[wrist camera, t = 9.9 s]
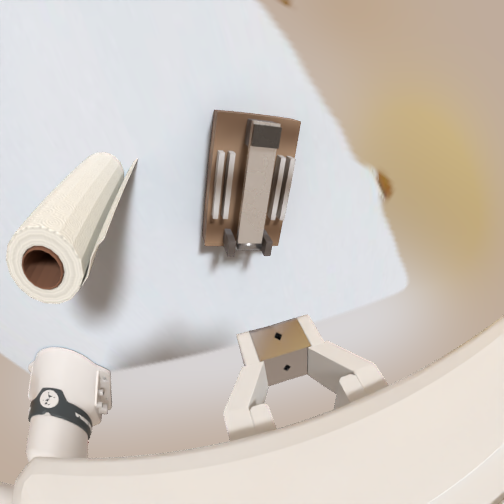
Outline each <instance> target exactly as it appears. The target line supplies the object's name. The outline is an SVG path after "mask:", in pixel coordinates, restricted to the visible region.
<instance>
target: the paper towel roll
mask: <svg viewBox="0 0 504 504" xmlns="http://www.w3.org/2000/svg"><path fill="white" fill-rule="evenodd" d="M137 160H138V158H137V159H136V160H135V161H134V162H133V164H132V165H131V167H130V168H129V170H128V172H127V174H126V176H125V178H124V170H123V167H122V165H121V162H120V161H119V160H118V159H117V158H116V157H115V156H114V155H111V154H109V153H106V152H98V153H95V154H93V155H91V156H89V157H87V158H86V159H85V160H84V161H83V162H82V163H81V164H80V165H79V166H78V167H76V168H75V169H74V170H73V171H72V172H71V173H70V174H69V175H68V176H67V177H66V178H65V179H64V180H63V181H62V182H61V183H60V184H59V185H58V186H57V187H56V188H55V189H54V190H53V191H52V192H51V193H50V194H49V195H48V196H47V197H46V198H45V199H44V200H43V201H42V202H41V204H40V205H39V206H38V207H37V208H36V209H35V210H34V211H33V212H32V213H31V215H30V216H29V217H28V218H27V219H26V220H25V221H24V223H23V224H22V225H21V226H20V227H19V229H18V230H17V231H16V232H15V234H14V235H13V237H12V238H11V240H10V242H9V243H8V245H7V255H6V261H7V265H8V269H9V272H10V275H11V277H12V278H13V280H14V281H15V283H16V284H17V286H18V287H19V288H20V289H21V290H22V291H24V292H25V293H26V294H27V295H28V296H30V297H31V298H33V299H36V300H38V301H41V302H43V303H52V304H60V303H62V302H65V301H68V300H71V299H72V298H73V297H74V295H75V294H76V293H77V292H78V291H79V289H80V288H81V287H82V285H83V284H84V282H85V281H86V279H87V278H88V276H89V273H90V270H91V267H92V264H93V261H94V258H95V256H96V253H97V250H98V247H99V244H100V243H101V242H102V241H103V240H104V239H105V236H106V233H107V231H108V228H109V225H110V223H111V220H112V217H113V215H114V212H115V210H116V207H117V205H118V203H119V200H120V198H121V195H122V193H123V191H124V188H125V186H126V184H127V181H128V179H129V177H130V175H131V173H132V170H133V168H134V166H135V164H136V162H137Z"/></svg>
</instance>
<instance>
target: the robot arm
mask: <svg viewBox="0 0 504 504" xmlns="http://www.w3.org/2000/svg"><path fill="white" fill-rule="evenodd" d="M236 335H237V340H238V343H239V347H240V351H241V355H242V359H243V363H244V367H242V369H241V371H240V373H239V376H238V378H237V381H236V383H235V386H234V388H233V391H232V393H231V395H230V398H229V400H228V403H227V405H226V407H225V410H224V412H223V414H224V418H225V423H226V427H227V431H228V435H229V440H230V441H229V442H225V443H220V444H215V445H210V446H206V447H200V448H194V449H188V450H182V451H175V452H168V453H160V454H152V455H142V456H130V457H115V458H88V443H89V442H88V440H89V438H90V435H91V433H92V426H95V425H97V424H99V423H100V422H101V418H102V414H108V410H110V409H111V406H112V398H111V373H110V371H109V370H107V369H105V368H103V367H101V366H98V365H96V364H95V363H93V362H92V361H91V360H89V359H88V358H86V357H85V356H83V355H81V354H79V353H77V352H75V351H72V350H69V349H65V348H59V347H50V348H45V349H43V350H41V351H39V352H38V354H37V355H36V358H35V360H34V361H33V362H31V363H30V364H29V367H28V370H29V371H30V373H31V378H30V385H29V393H28V397H29V399H30V401H31V405H30V409H29V418H28V419H29V422H30V425H29V432H28V439H27V447H26V456H27V459H28V461H29V463H28V464H27V465H26V467H25V468H24V469H23V470H22V472H21V473H20V475H19V476H18V478H17V479H16V481H15V484H14V485H11V484H7V483H3V482H0V504H504V315H503V316H502V317H501V318H499V319H498V320H497V321H495V322H494V323H492V324H491V325H490V326H488V327H487V328H486V329H484V330H483V331H481V332H480V333H478V334H477V335H475V336H474V337H473V338H471V339H470V340H468V341H467V342H465V343H463V344H462V345H460V346H459V347H457V348H456V349H454V350H453V351H451V352H449V353H448V354H446V355H444V356H443V357H441V358H439V359H438V360H436V361H434V362H432V363H431V364H429V365H427V366H425V367H424V368H422V369H420V370H418V371H416V372H415V373H413V374H411V375H409V376H407V377H405V378H403V379H401V380H399V381H397V382H395V383H393V384H391V385H388V383H387V382H386V380H385V379H384V377H383V376H382V374H381V373H380V371H379V370H378V368H377V366H376V365H375V363H373V362H371V361H369V360H367V359H364V358H362V357H360V356H358V355H356V354H354V353H352V352H350V351H348V350H346V349H344V348H341V347H339V346H337V345H335V344H333V343H331V342H329V341H326V342H324V340H323V339H322V337H321V335H320V333H319V332H318V330H317V328H316V326H315V325H314V323H313V321H312V319H311V318H310V316H309V315H308V314H307V315H303V316H300V317H297V318H293V319H290V320H287V321H284V322H280V323H277V324H274V325H271V326H268V327H264V328H260V329H256V330H252V331H248V332H244V333H240V334H236ZM306 374H308V375H309V376H310V377H311V378H313V379H315V380H316V381H317V382H319V383H321V384H322V385H323V386H325V387H326V388H328V389H329V390H331V391H332V392H334V393H335V394H337V395H336V401H335V405H334V410H331V411H329V412H326V413H323V414H321V415H318V416H315V417H312V418H309V419H307V420H304V421H301V422H298V423H295V424H292V425H288V426H285V427H282V428H279V429H277V428H276V425H275V423H274V420H273V418H272V415H271V412H270V409H269V406H268V405H266V404H264V402H265V399H266V395H267V392H268V388H269V387H268V386H271V385H274V384H277V383H280V382H283V381H286V380H289V379H293V378H296V377H299V376H303V375H306Z"/></svg>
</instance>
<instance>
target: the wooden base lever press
mask: <svg viewBox="0 0 504 504" xmlns="http://www.w3.org/2000/svg"><path fill="white" fill-rule="evenodd" d="M252 120H253V121H262V122H270V123H278V124H281V125H280V127H281V128H282V131H281V137H280V143H279V149H277V150H276V156H275V163H274V169H273V175H272V182H271V188H270V194H269V200H268V207H267V213H266V219H265V225H264V231H263V237H262V247H261V251H262V253H263V255H264V256H270V255H271V249H272V246H278V243H279V238H280V233H281V227H282V222H283V220H284V218H285V213H286V208H287V203H288V197H289V192H290V187H291V181H292V176H293V171H294V165H295V160H296V159H295V152H296V147H297V141H298V136H299V130H300V124H301V122H300V121H297V120H294V119H290V118H283V117H276V116H269V115H261V114H253V113H244V112H234V111H223V110H214V116H213V125H212V134H211V143H210V153H209V163H208V173H207V185H206V196H205V209H204V222H203V239H204V244H205V246H224V247H225V250H226V253H227V256H234V254H235V246H236V239H237V231H238V223H239V215H240V207H241V199H242V191H243V183H244V175H245V168H246V160H247V153H248V145H249V138H250V130H251V123H252Z"/></svg>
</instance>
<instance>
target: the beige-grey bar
mask: <svg viewBox="0 0 504 504" xmlns="http://www.w3.org/2000/svg"><path fill="white" fill-rule="evenodd" d="M280 125H281V124H278V123H270V122H262V121H253V120H252V123H251V130H250V138H249V145H248V153H247V160H246V168H245V175H244V183H243V191H242V199H241V207H240V215H239V223H238V231H237V239H236V250H261V247H262V237H263V231H264V225H265V219H266V213H267V207H268V200H269V194H270V188H271V182H272V175H273V169H274V163H275V156H276V150H277V149H279V143H280V137H281V131H282V128H281V127H280Z"/></svg>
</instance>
